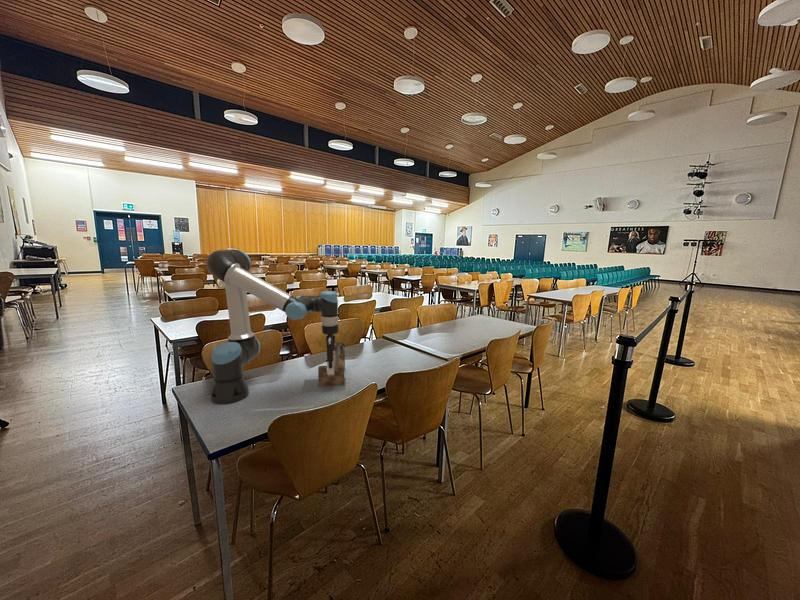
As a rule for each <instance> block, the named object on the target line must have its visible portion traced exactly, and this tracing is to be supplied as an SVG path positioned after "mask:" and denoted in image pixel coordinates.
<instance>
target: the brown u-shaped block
mask: <svg viewBox="0 0 800 600" xmlns="http://www.w3.org/2000/svg"><path fill="white" fill-rule="evenodd" d="M317 369H318V370H317V372H318V374H317V376H318V379H319V386H337V385H344V384H345V378H346V377H345V370H344V365H336V374H335V376H328V369H327V365H319V366H318V368H317Z"/></svg>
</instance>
